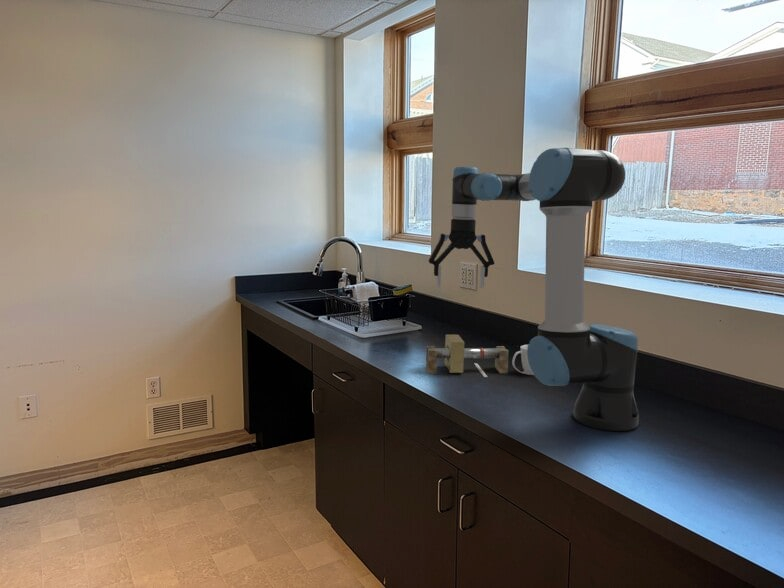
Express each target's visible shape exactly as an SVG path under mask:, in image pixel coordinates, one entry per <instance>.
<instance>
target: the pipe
mask: <svg viewBox="0 0 784 588" xmlns="http://www.w3.org/2000/svg"><path fill="white" fill-rule="evenodd" d="M429 350H437V359H445V358H449V348H445V347H443V348H440V347H438V348H437V347H435V348H428V354H429ZM500 350H507V348H506V347H505V348H496V347H493V348H492V347H491V348H490V347H488V348H487V347H485V348H484V347H479V348H478V347H473V348H471V347H470V348H469V347H468V348H467V347H466V348H465V347H464V359H480V360H483V359H495V358H499V356H500Z"/></svg>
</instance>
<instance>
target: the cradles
mask: <svg viewBox="0 0 784 588" xmlns="http://www.w3.org/2000/svg"><path fill="white" fill-rule="evenodd" d="M428 348H436V347H435V345H431V346H429V345H427V346H426V356H425V369H426V371H427V373H428V374H433V375H434V374H437V371H438V369H437V368H438V367H437V365H438V358H437V350H429V354H428ZM495 348H506V346H504V345H501V346H499V345H497V346H495ZM494 359H495V360H494V362H495V363H494V368H495V370H496V371H497V372H498V373H499V374H508V372H509V371H508V370H509V350H508V349H506V350H500V356H499V358H494Z"/></svg>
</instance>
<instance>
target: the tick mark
mask: <svg viewBox="0 0 784 588" xmlns="http://www.w3.org/2000/svg"><path fill="white" fill-rule="evenodd" d="M473 364H474V366H475V368H476V369H477V370H478V371H479V373H480V374H481V375H482V376H483V378H488V375H487V374H486V373H485V371H484V370H483V369H482V368H481V366H480V365H479V364H478V363H477V362H476V363H475V362H474V363H473Z"/></svg>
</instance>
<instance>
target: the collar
mask: <svg viewBox="0 0 784 588" xmlns="http://www.w3.org/2000/svg"><path fill="white" fill-rule="evenodd" d="M444 342H445V345H444V348H449V358H444V365H445V367H446V368H447V370H448V372H449V373H453V374H454V373H458V374H459V373H460V374H461V373H464V362H465V361H464V359H465V358H464V348H465V341H464V340H463V338H462V337H461V336H460V335H459V334H445V341H444Z"/></svg>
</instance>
